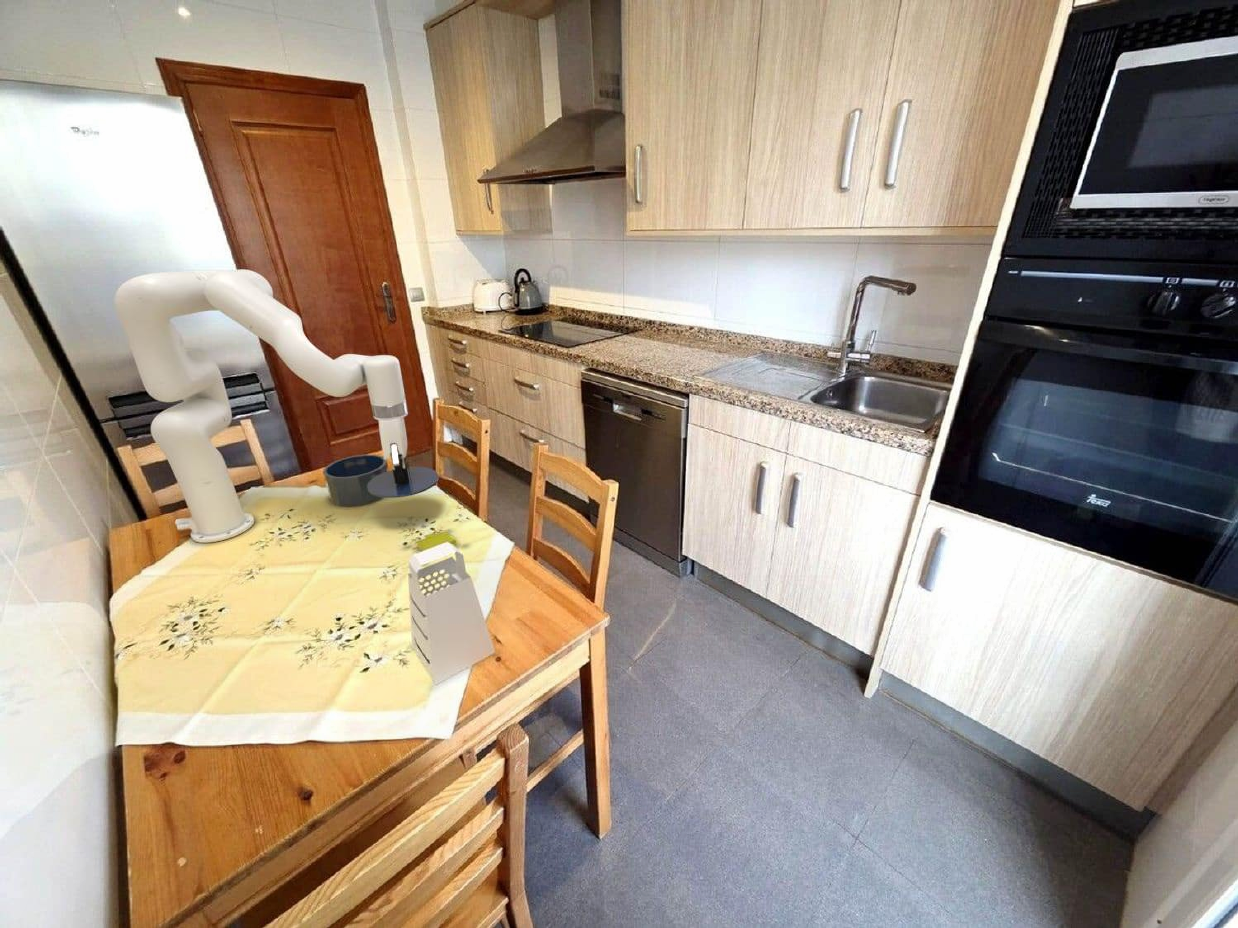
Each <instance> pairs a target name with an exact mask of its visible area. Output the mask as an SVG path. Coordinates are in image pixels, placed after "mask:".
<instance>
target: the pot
mask: <svg viewBox="0 0 1238 928" xmlns="http://www.w3.org/2000/svg"><path fill="white" fill-rule="evenodd" d="M389 468H390V467H389V465H388V459H387V460H384V457H383V455H379V454H359V455H351V456H348V457H343V458H341V459H338V460H336V461H333V462H331V463H330V464H328V465H326V466H325V467H324V468H323V471H322V475H323V478H324V482H325V486H326V488H327V493H328V496H329V500H331V503H332V504H334V505H335V506H338V507H345V508H347V507H348V508H350V507H351V508H352V507H361V506H365V505H369V504H372V503H376V502H379V501H380V500H382V499H384V497H378V496H375V495H373V494H371V493H370V492H369V491H368V489H367V485H368V483H369V481H370V480H371V479H373V478H374V477H376V476H377V475H379V474H382V473H384V472H387V471H390V469H389Z"/></svg>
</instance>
